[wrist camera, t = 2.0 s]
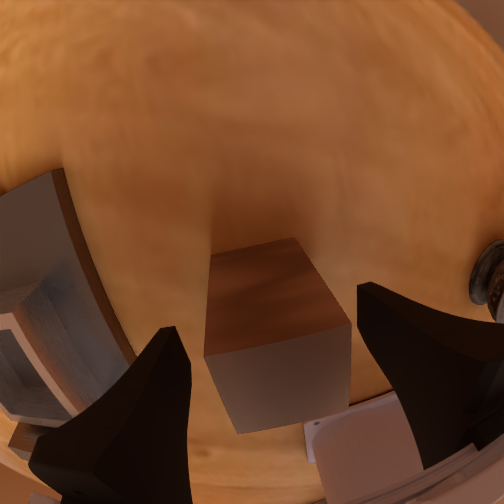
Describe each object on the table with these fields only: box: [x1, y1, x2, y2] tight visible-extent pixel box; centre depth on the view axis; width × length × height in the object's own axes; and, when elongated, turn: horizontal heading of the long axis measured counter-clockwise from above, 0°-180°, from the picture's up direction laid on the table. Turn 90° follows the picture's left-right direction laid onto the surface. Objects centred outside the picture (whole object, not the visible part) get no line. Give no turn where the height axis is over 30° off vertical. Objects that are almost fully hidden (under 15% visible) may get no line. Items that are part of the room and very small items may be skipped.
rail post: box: [204, 238, 351, 434], centre depth 11 cm, size 4×4×7 cm
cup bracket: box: [0, 168, 137, 461], centre depth 12 cm, size 14×18×6 cm
